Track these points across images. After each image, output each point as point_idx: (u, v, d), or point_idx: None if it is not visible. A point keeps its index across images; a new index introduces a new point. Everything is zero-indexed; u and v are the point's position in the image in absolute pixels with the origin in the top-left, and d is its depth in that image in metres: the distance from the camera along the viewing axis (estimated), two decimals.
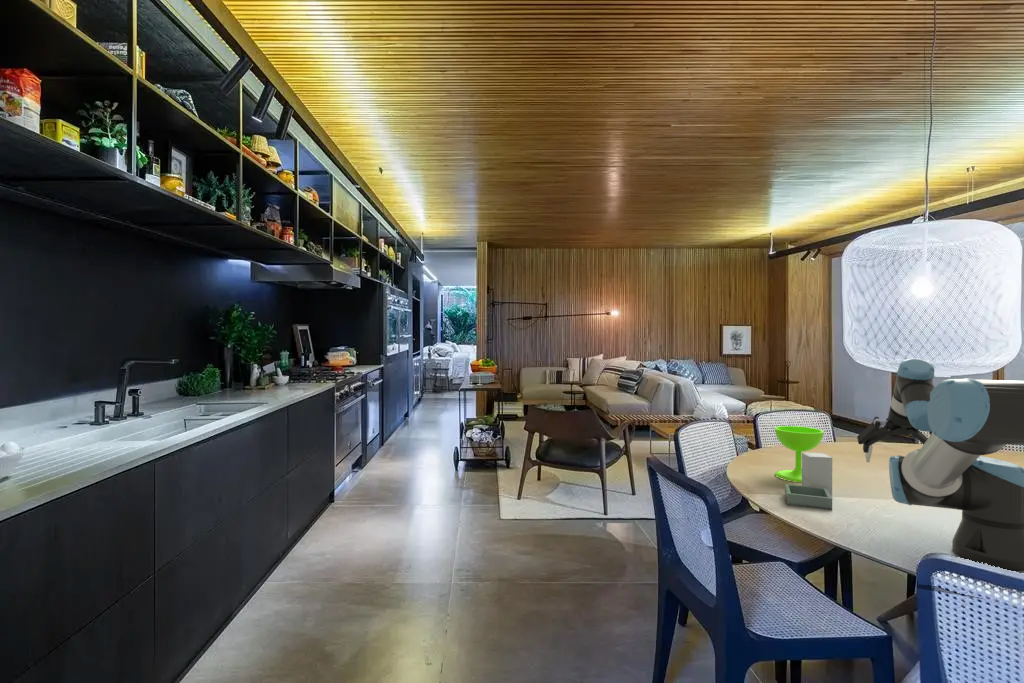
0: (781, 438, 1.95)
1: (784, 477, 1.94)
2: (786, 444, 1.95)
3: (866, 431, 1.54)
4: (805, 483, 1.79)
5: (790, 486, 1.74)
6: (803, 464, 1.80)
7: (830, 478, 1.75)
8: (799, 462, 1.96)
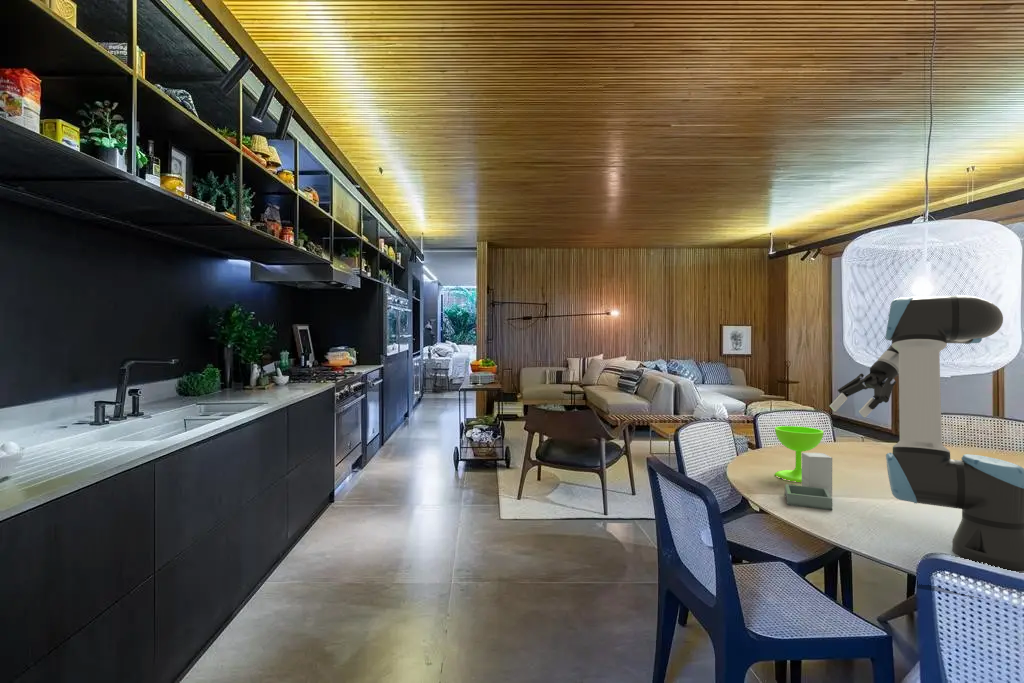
0: (781, 438, 1.95)
1: (784, 477, 1.94)
2: (786, 444, 1.95)
3: None
4: (805, 483, 1.79)
5: (790, 486, 1.74)
6: (803, 464, 1.80)
7: (830, 478, 1.75)
8: (799, 462, 1.96)
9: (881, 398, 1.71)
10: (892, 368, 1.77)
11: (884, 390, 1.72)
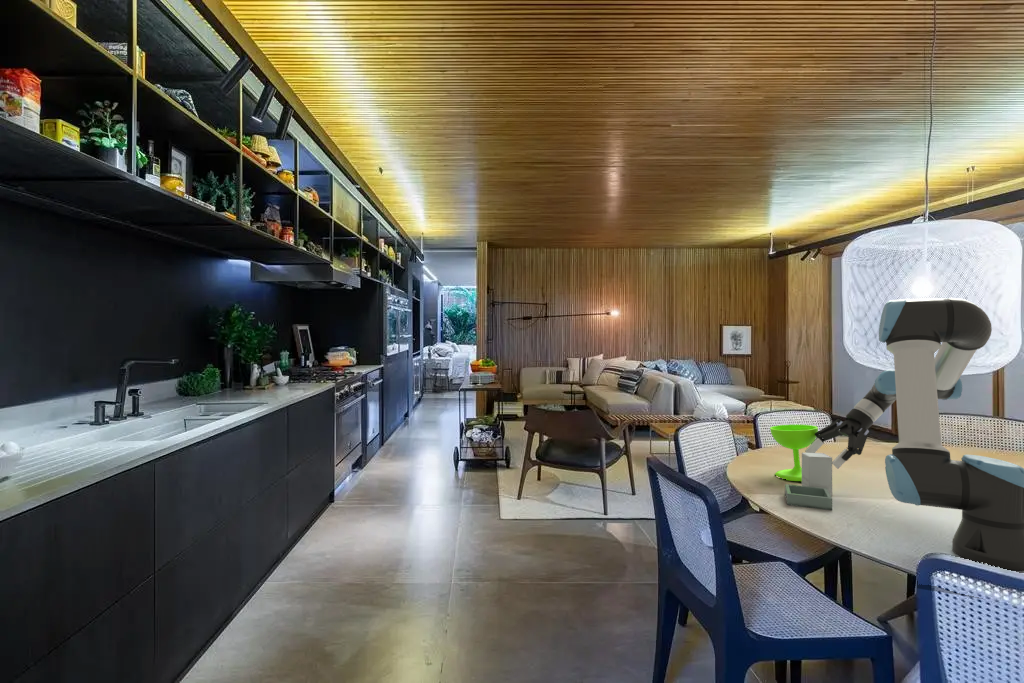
0: (777, 438, 1.96)
1: (784, 476, 1.94)
2: (782, 443, 1.95)
3: None
4: (805, 483, 1.79)
5: (790, 486, 1.74)
6: (803, 464, 1.80)
7: (830, 478, 1.75)
8: (797, 460, 1.96)
9: (854, 450, 1.72)
10: (867, 418, 1.78)
11: (857, 442, 1.72)
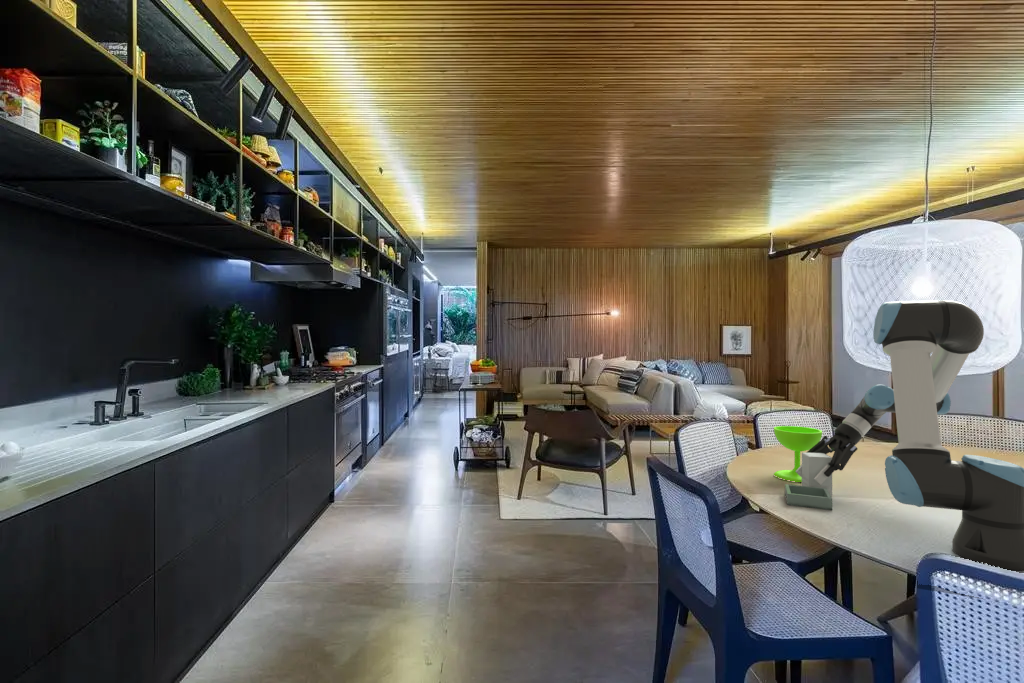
0: (779, 438, 1.96)
1: (782, 477, 1.94)
2: (784, 444, 1.95)
3: None
4: (805, 483, 1.79)
5: (790, 486, 1.74)
6: (803, 464, 1.80)
7: (830, 478, 1.75)
8: (798, 462, 1.96)
9: (836, 466, 1.71)
10: (856, 432, 1.76)
11: (841, 458, 1.72)
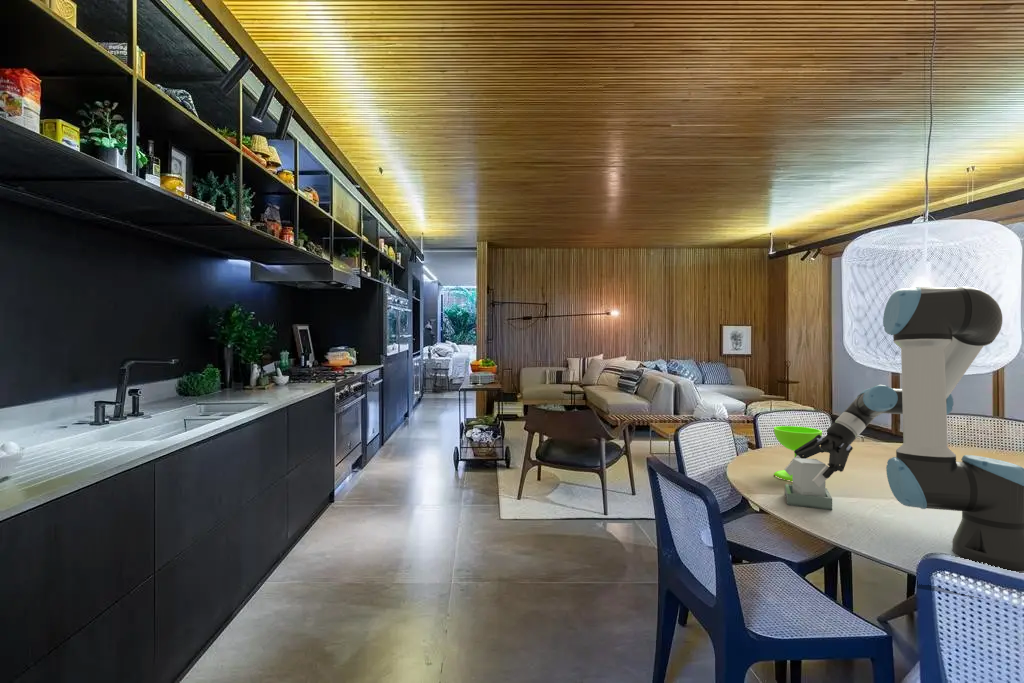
0: (779, 438, 1.96)
1: (782, 477, 1.94)
2: (784, 444, 1.95)
3: None
4: (796, 492, 1.67)
5: (790, 486, 1.74)
6: (795, 471, 1.69)
7: (823, 486, 1.63)
8: None
9: (835, 467, 1.58)
10: (849, 432, 1.65)
11: (839, 458, 1.59)
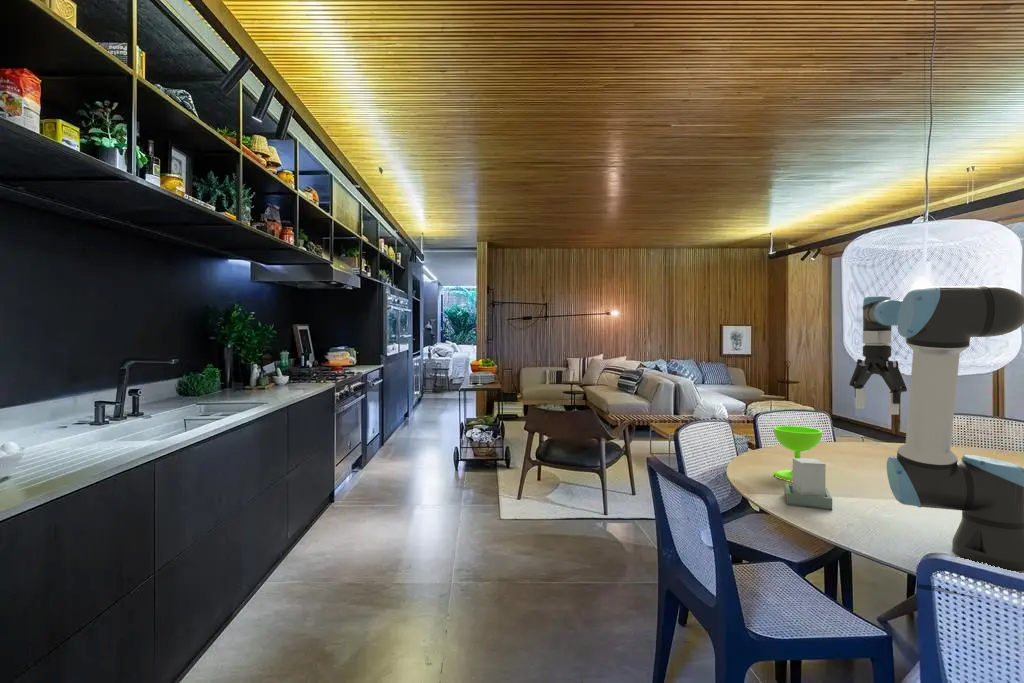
0: (779, 438, 1.96)
1: (782, 477, 1.94)
2: (784, 444, 1.95)
3: None
4: (796, 492, 1.67)
5: (790, 486, 1.74)
6: (795, 471, 1.69)
7: (823, 486, 1.63)
8: None
9: (899, 391, 1.59)
10: (883, 348, 1.65)
11: (895, 381, 1.60)
